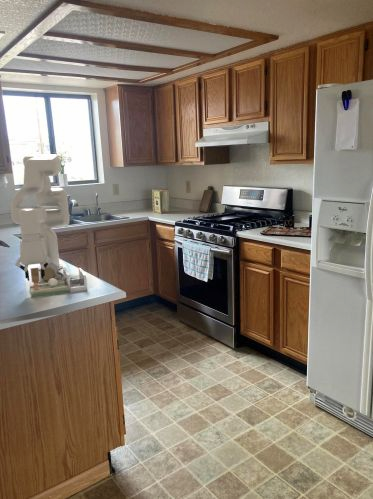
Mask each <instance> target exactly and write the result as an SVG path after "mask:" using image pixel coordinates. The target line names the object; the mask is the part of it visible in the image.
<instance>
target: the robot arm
mask: <svg viewBox="0 0 373 499" xmlns="http://www.w3.org/2000/svg"><path fill="white" fill-rule="evenodd" d="M22 163H23V167H24V168H23V169H24V172H23V185H22V187H20V188H19V190H18V191H16V193H15V194H14V195H13V197H12V200H11V205H10V206H11V209H10V216H11V217H10V219H11V221H12V222H13V223H15V224H16V225H17V224H18V225H19V228H20V236H21V241H20V242H19V258H18V259H17V260H16V262H15V263H14V264H15V265H14V266H16V267H18V268H20V269H21V270H22V271H24V276H25V277H24V278H25V279H27V281H30V274H29V270H28V268H29V266H30V265H38V264H39V266H37V268H38V271H39V272H41V275H40V277H41V279H42V280H44V278H43V276H45V272H44V269H45V268H46V267H47V265H48V264H49V263H50V262H52V263H54V264H55V265H56V266H57V267H58V270H61V269H63V268H64V267H63V264H62V263H60V256H59V247H58V236H57V235H58V234H57V233H56V232H55V231H54V229H52V228H66V227H67V226H69V225H70V212H69V211H70V210H69V202H68V201H69V200H68V195H67V191H66V190H65V189H64V188H61V187H52V184H51V178H50V177H53V176H54V177H55V176H58V174H59V172H60V170H61V168H62V163H61V158H60V157H59V156H58V155H57V154H28V155H26V156H24V157H23V159H22ZM32 197H34V201H35V205H33V206H31V205H26V206H21V205H22V204H23V203H24V202H25V201H26V200H28V199H30V198H32ZM52 207H55V208H54V209H53V208H52ZM56 207H57V208H56ZM45 208H49V209H45Z"/></svg>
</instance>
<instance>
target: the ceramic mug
mask: <svg viewBox="0 0 373 499" xmlns="http://www.w3.org/2000/svg"><path fill="white" fill-rule="evenodd" d="M44 272H45V276H43V278H44V279H43V281H45V282H46V281H47V282H48V281H49V280H50V279H51V278H55V279H56V280H62V279H63V280H64V276H63V272H60V271H59V269H58V267H57V266H56V265H55V264H54V263H52V262H50V263H49V264H48V265H47V267H46V268H45V269H44ZM39 276H41V271H39Z"/></svg>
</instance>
